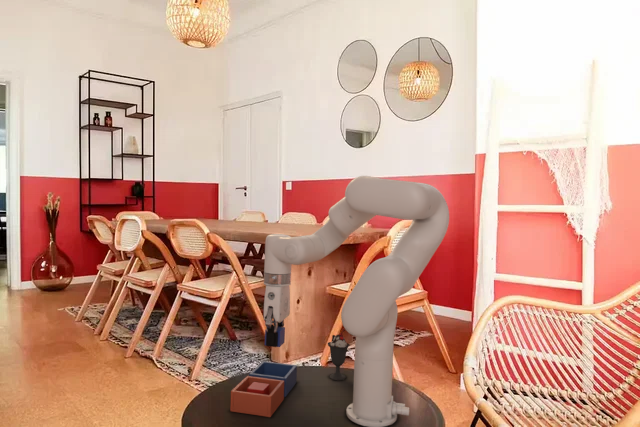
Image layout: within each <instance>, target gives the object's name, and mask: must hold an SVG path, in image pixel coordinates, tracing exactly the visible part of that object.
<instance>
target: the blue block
mask: <svg viewBox="0 0 640 427" xmlns="http://www.w3.org/2000/svg"><path fill="white" fill-rule="evenodd" d="M277 332H278V346H277V347H276V348H281V347H282V345H284V343H285V340H286V326H284V327H278V326H277ZM264 346H266V329H265V330H264Z"/></svg>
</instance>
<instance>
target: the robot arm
mask: <svg viewBox="0 0 640 427" xmlns="http://www.w3.org/2000/svg"><path fill="white" fill-rule="evenodd" d="M376 216H380V217H385V218H386V217H387V218H392V219H398V220H399V219H400V220H407V221H411V223H410V225H409V226H408V228H407V229H406V230H405V231H404V233H402V235H401V237H400V238H399V240H398V242H397V243H396V245H395V246H394V248H393V249H392V251H390V253H389V254H388V255H387V256H385V257H381V258H378V259H376V260H375V261H373V262H372V263H370V264H369V265H368V266H367V268H366V269H365V270H364V271H363V273H362V275H361V276H360V278H359V279H358V281H357V282H356V284H355V286H354V287H353V288H352V290H351V291H350V293H349V295H348V296H347V298H346V300H345V301H344V304H343V306H342V308H341V314H340V316H341V317H340V318H341V323H342V327H344V328H343V329H344V330H345V332H347V333H348V334H349V335H351V336H353V337H355V342H354V359H353V360H354V361H353V362H354V363H353V386H352V387H353V389H352V390H353V392H352V403H350V404H349V405H348V406H347V407H346V412H345V414H346V417H347V418H348V420H350V421H351V422H353V423H355V424H357V425H360V426H363V427H388V426H391V425H393V424H394V423H396V421H397V420H398V415H401V416H407V417H409V416H410V407H409V406H406V403H402V402H396V401H394V395H392V394H393V392H392V390H393V367H394V350H395V349H394V347H395V335H396V328H397V322H398V314H399V312H398V311H399V310H398V305H397V300H398V298H399V297H401V296H403V295H405V294H406V293H408V292H410V291H411V290H412V289H413V287H414V286H415V285H416V283H417V281H418V279H419V278H420V276H421V275H422V273H423V272H424V270H425V269H426V267H427V266H428V264H429V263H430V261H431V259H432V258H433V256H434V255H435V253H436V252H437V251H438V248H439V247H440V245H441V244H442V242H443V241H444V238H445V236H446V234H447V232H448V228H449V225H450V224H449V223H450V209H449V206H448V203H447V200H446V199H445V197H444V195H443V194H442V192H441V191H440V190H439V189H438V188H436V187H435V186H434V185H431V184H429V183H425V182H416V181H408V180H400V179H399V180H398V179H390V178H381V177H378V176H371V175H361V176H360V175H359V176H357V177H355V178H353V179H352V180H351V181H350V182H348V184H347V186H346V188H345V191H344V197H342V198H341V199H340V200H339V201H337V202H336V203H335V204H333V205H332V206H331V207H330V208H329V210H328V218H329V219H328V220H327V222H326V223H324V225H323V226H321V227H320V228H318V229H317V230H316V231H315V232H313V233H312V234H306V235H299V236H291V235H289V234H283V233H272V234H271V233H270V234H268V235H267V236H266V237H265V242H264V264H263V265H264V266H263V267H264V268H263V285H265V291H264V299H263V300H264V301H263V320H264V321H265V322H264V326H265V330H266V345H265V346H266V347H269V348H270V347H272V348H278V347H277V346H278V332H277V326H278V327H285V320H286V319H287V318H288V317H289V316H290V314H291V289H290V286H291V285H292V265H294V266H300V265H305V264H309V263H314V262H318V261H321V260H323V259H324V258H325V257H327V256H328V255H330V254H331V253H333V252H335V250H336V249H338V248H339V247H340V246H341V245H342V244H343V243H345V241H346V240H347V239H348V238H350V235H351V234H353V233H354V232H355V231H357V230H358V229H359V228H361V227H363V225H365V224H367V223H368V222H369V221H371V220H372V219H373V218H374V217H376Z"/></svg>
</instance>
